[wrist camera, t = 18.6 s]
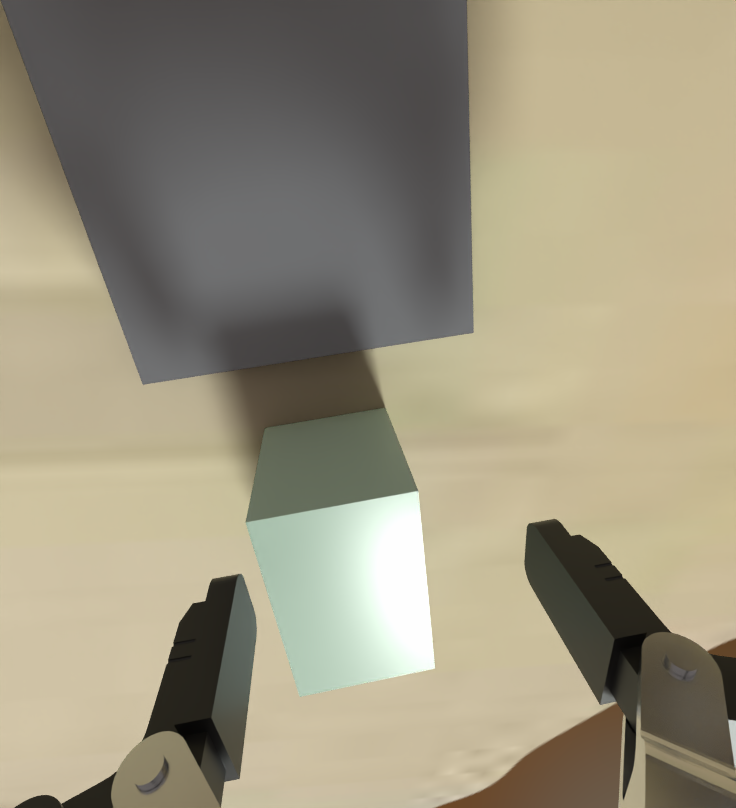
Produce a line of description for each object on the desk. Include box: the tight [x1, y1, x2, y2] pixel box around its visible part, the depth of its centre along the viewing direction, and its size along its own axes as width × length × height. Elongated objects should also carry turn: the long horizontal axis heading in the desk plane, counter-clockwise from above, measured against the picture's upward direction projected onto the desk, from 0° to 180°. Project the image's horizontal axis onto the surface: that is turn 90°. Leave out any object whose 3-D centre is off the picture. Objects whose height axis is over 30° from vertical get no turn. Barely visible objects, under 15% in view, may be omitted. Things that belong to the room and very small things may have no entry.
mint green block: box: [246, 408, 435, 697], centre depth 17 cm, size 8×5×6 cm, turn 7°
